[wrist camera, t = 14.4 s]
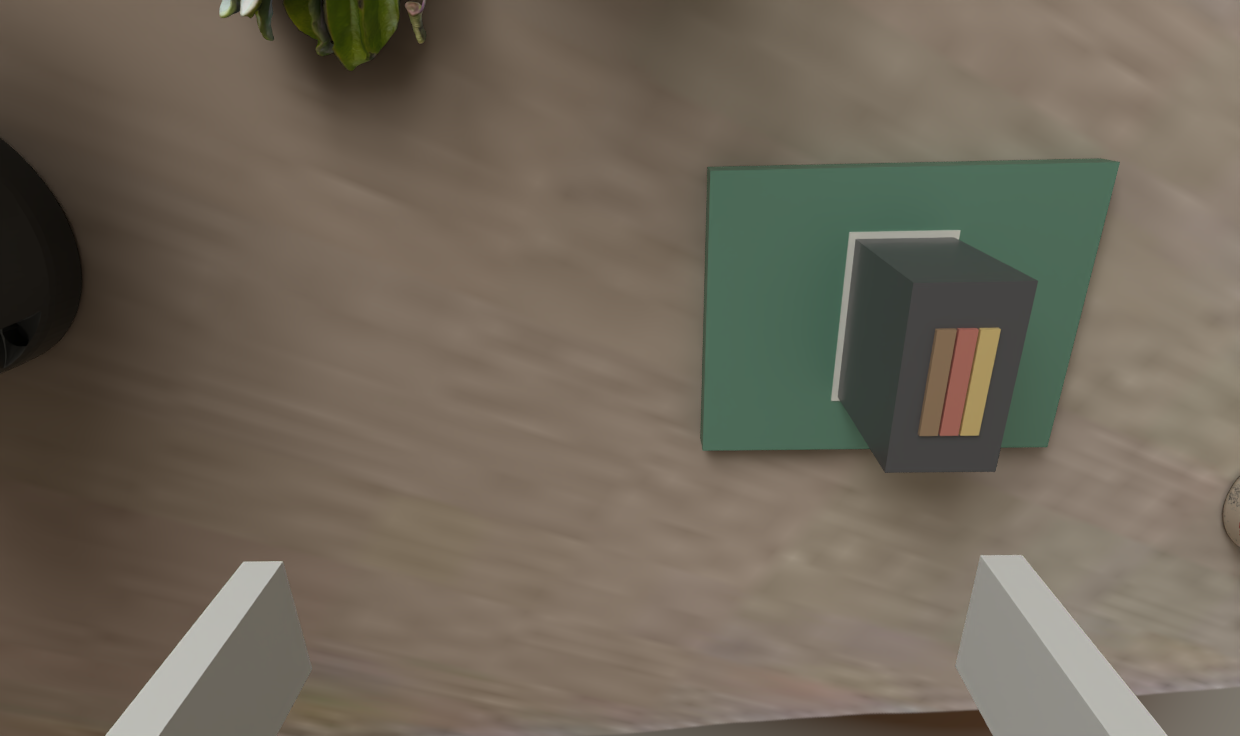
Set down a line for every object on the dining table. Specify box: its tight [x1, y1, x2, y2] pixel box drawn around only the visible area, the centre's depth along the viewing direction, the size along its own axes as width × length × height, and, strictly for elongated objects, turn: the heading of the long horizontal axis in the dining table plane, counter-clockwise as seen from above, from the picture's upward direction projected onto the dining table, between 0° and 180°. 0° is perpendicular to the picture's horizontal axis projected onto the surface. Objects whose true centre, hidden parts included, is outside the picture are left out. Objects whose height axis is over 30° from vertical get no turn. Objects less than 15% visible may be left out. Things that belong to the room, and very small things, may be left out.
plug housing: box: [838, 237, 1038, 473], centre depth 33 cm, size 5×9×8 cm, turn 1°
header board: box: [700, 159, 1120, 451], centre depth 36 cm, size 20×16×4 cm
